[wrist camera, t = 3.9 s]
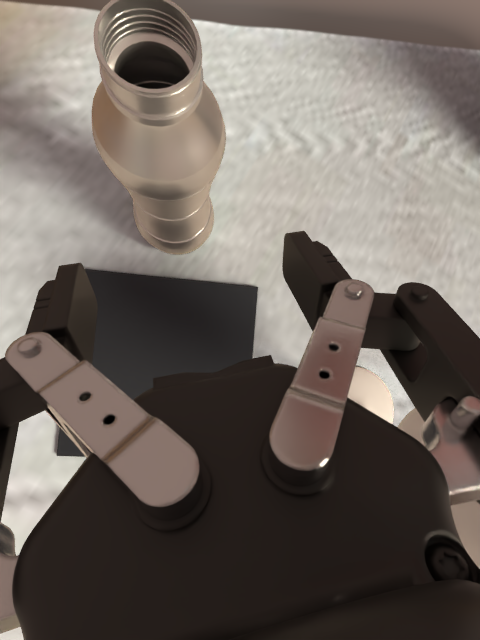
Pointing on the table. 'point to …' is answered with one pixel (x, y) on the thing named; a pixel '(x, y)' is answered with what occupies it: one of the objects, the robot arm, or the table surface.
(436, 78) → the table surface
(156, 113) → the plastic bottle
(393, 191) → the table surface
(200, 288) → the felt mat
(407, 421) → the wineglass
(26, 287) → the table surface
